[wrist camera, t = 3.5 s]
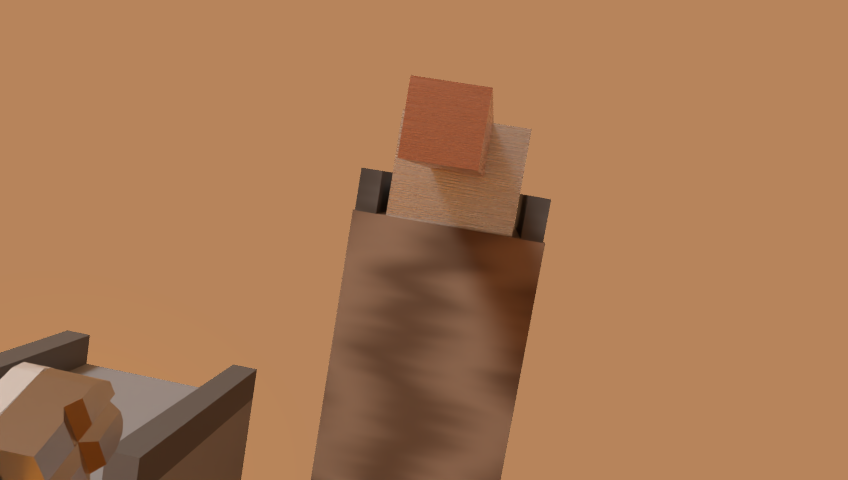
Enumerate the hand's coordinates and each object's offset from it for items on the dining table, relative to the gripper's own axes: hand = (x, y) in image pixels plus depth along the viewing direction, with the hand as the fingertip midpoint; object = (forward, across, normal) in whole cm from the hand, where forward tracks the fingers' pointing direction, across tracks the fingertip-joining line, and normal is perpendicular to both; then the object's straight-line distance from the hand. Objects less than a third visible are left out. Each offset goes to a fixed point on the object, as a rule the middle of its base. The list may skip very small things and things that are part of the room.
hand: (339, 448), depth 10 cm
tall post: (+9, 0, +32) cm, 33 cm away
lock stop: (+16, 0, +6) cm, 18 cm away
